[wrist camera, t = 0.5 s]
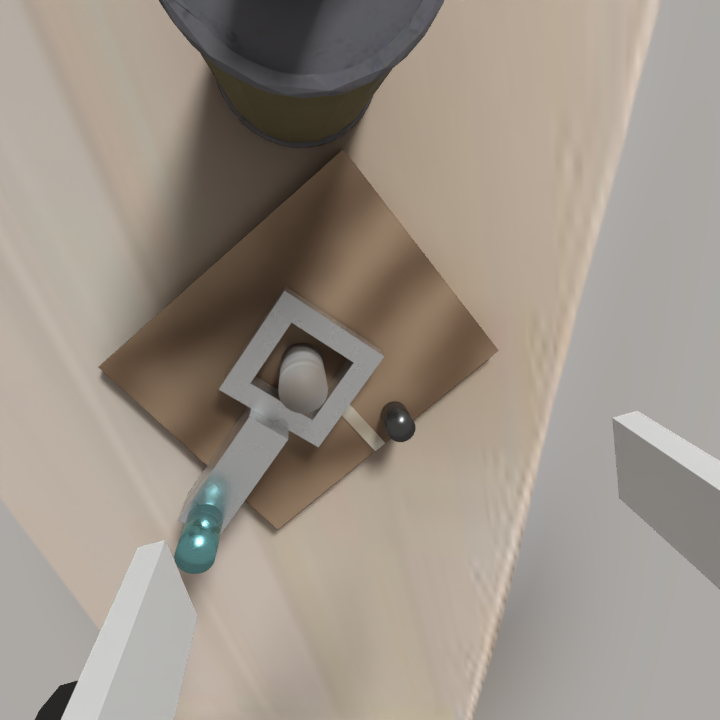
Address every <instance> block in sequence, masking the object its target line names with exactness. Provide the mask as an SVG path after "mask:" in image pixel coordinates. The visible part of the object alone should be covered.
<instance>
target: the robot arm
mask: <svg viewBox="0 0 720 720" xmlns="http://www.w3.org/2000/svg"><path fill="white" fill-rule="evenodd" d="M612 419H613V431H614V443H615V455H616V467H617V477H618V488H619V489H618V490H619V498H620V499H621V500H622V501H623V502H624V503H625V504H626V505H628V506H629V507H630V508H631V509H632V510H633V511H634V512H635V513H636V514H637V515H639V516H640V517H641V518H642V519H643V520H644V521H645V522H646V523H647V524H648V525H649V526H651V527H652V528H653V529H654V530H655V531H656V532H657V533H658V534H659V535H660V536H662V537H663V538H664V539H665V540H666V541H667V542H668V543H669V544H670V545H671V546H673V547H674V548H675V549H676V550H677V551H678V552H679V553H680V554H682V556H684V557H685V558H686V559H687V560H688V561H689V562H690V563H691V564H692V565H694V566H695V567H696V568H697V569H698V570H699V571H700V572H701V573H702V574H703V575H705V576H706V577H707V578H708V579H709V580H710V581H711V582H712V583H713V584H714V585H716V586H717V587H718V588H719V589H720V461H719V460H717V459H716V458H714V457H712V456H710V455H709V454H707V453H706V452H704V451H702V450H701V449H699V448H697V447H696V446H694V445H692V444H691V443H689V442H688V441H686V440H684V439H683V438H681V437H679V436H678V435H676V434H674V433H673V432H671V431H670V430H668V429H666V428H665V427H663V426H661V425H660V424H658V423H656V422H655V421H653V420H651V419H650V418H648V417H646V416H645V415H643V414H641V413H640V412H638V411H635V412H632V413H628V414H624V415H621V416H617V417H613V418H612ZM197 617H198V616H197V614H196V612H195V609H194V607H193V604H192V602H191V600H190V597H189V595H188V593H187V590H186V588H185V585H184V583H183V581H182V578H181V576H180V574H179V571H178V569H177V566H176V564H175V562H174V559H173V557H172V554H171V552H170V550H169V547H168V545H167V543H166V540H163V541H160V542H156V543H152V544H149V545H145V546H141V547H138V549H137V551H136V553H135V555H134V558H133V560H132V562H131V564H130V567H129V569H128V571H127V573H126V576H125V578H124V580H123V582H122V584H121V587H120V589H119V591H118V593H117V596H116V598H115V600H114V602H113V605H112V607H111V609H110V611H109V613H108V616H107V618H106V620H105V622H104V625H103V627H102V629H101V631H100V634H99V636H98V638H97V640H96V643H95V645H94V647H93V649H92V651H91V654H90V656H89V658H88V660H87V663H86V665H85V667H84V669H83V671H82V674H81V676H80V678H79V680H78V681H75V682H71V683H67V684H64V685H60V686H59V687H58V689H57V690H56V691H55V692H54V693H53V695H52V696H51V697H50V698H49V700H48V701H47V702H46V703H45V704H44V705H43V707H42V708H41V709H40V711H39V712H38V714H37V717H36V719H35V720H174V717H175V712H176V708H177V704H178V699H179V695H180V691H181V686H182V682H183V678H184V673H185V669H186V665H187V660H188V656H189V652H190V647H191V643H192V639H193V634H194V630H195V625H196V621H197Z"/></svg>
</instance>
